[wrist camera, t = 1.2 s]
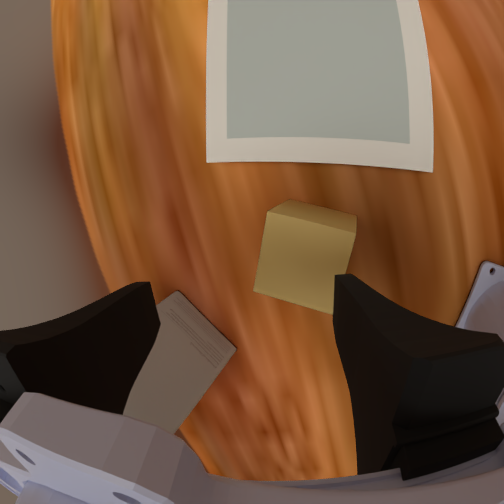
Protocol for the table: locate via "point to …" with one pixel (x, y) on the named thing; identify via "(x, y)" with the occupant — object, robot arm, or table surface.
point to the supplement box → (178, 365)
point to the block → (304, 253)
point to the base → (318, 83)
